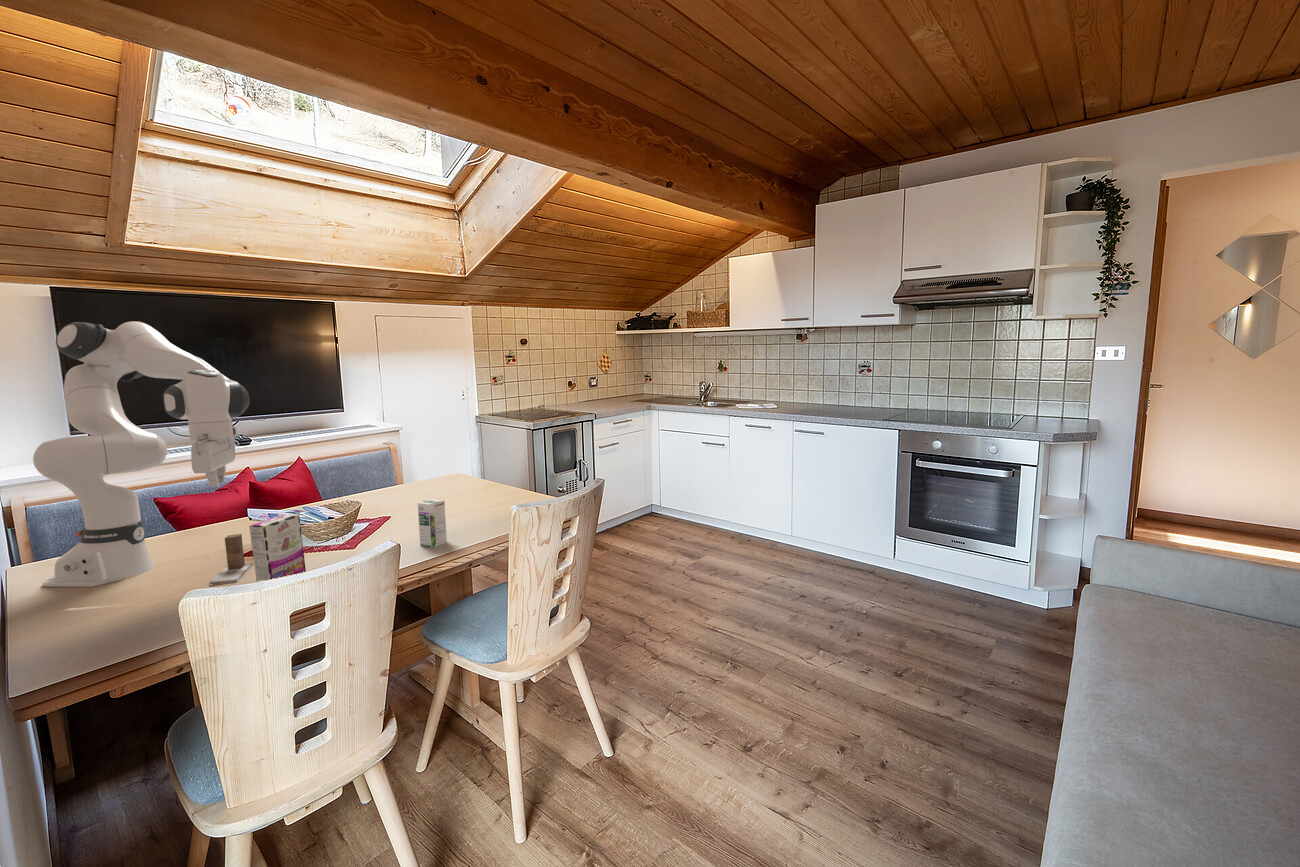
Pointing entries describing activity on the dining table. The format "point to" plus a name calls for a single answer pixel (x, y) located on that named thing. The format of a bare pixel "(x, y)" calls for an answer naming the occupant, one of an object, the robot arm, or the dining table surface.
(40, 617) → the dining table surface
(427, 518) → the syrup box
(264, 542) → the candy bar box
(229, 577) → the upright block on plate
